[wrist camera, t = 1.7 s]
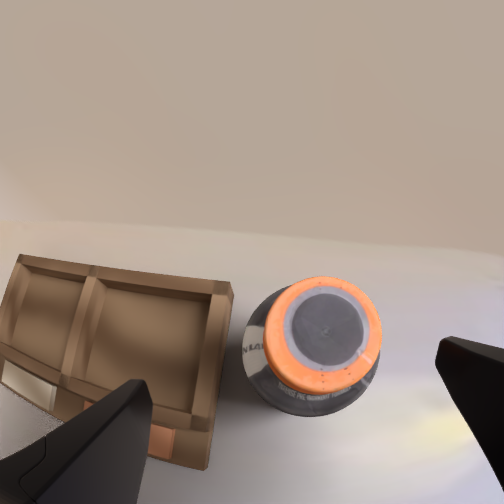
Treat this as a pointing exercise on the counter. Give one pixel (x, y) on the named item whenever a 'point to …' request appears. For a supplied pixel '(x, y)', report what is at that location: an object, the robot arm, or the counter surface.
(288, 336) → the pill bottle
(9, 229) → the counter surface
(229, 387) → the counter surface
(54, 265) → the socket frame
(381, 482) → the counter surface
